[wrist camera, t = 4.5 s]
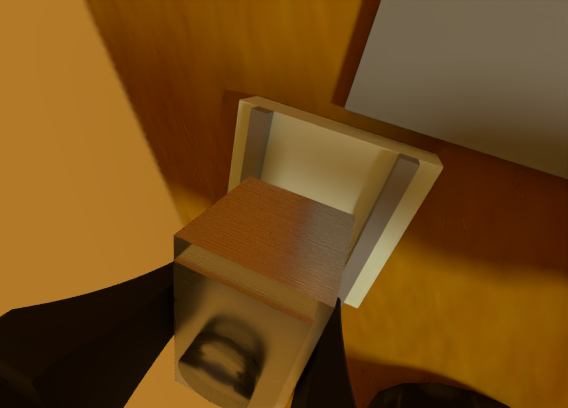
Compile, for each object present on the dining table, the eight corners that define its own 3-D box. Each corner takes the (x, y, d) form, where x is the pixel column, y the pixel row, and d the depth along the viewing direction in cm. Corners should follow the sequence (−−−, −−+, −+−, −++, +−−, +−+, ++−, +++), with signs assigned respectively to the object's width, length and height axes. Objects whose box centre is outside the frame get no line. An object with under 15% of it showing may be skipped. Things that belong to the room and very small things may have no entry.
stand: (436, 154, 16) (447, 174, 13) (360, 285, 22) (355, 319, 19) (257, 95, 18) (230, 101, 15) (235, 230, 24) (213, 253, 21)
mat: (966, -71, 8) (1117, -107, 6) (648, 201, 13) (685, 220, 12) (430, -138, 11) (437, -174, 9) (346, 106, 16) (341, 111, 14)
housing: (306, 326, 15) (262, 465, 10) (231, 290, 16) (153, 399, 11) (356, 216, 11) (323, 354, 6) (249, 176, 12) (138, 262, 7)
